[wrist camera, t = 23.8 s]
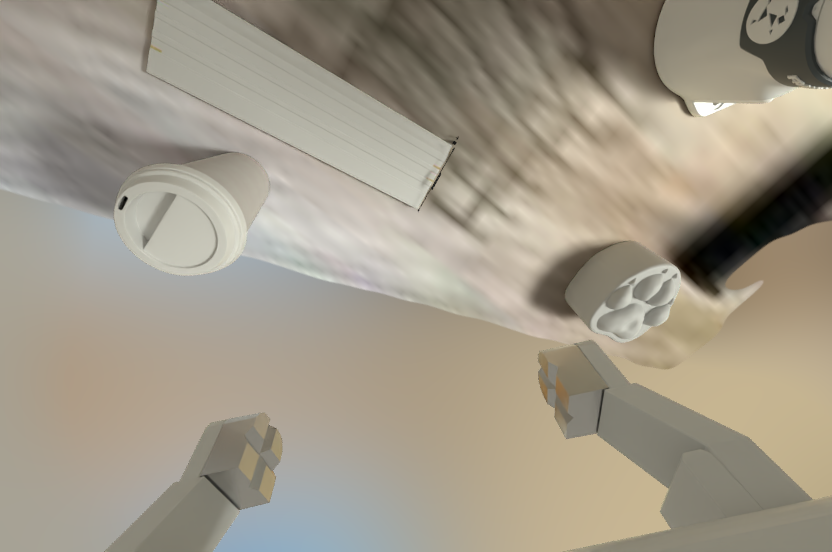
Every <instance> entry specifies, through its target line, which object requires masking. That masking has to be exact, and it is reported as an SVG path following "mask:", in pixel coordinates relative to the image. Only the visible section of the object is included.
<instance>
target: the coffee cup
mask: <svg viewBox="0 0 832 552" xmlns="http://www.w3.org/2000/svg"><path fill="white" fill-rule="evenodd" d="M269 190H270V183H269V179H268V176H267V174H266V172H265V170H264V169H263V167H262V166H261V165H260V164H259V163H258V162H257V161H256V160H254V159H253V158H251V157H249V156H247V155H245V154H242V153H236V152H230V153H225V154H221V155H217V156H213V157H209V158H205V159H201V160H197V161H193V162H189V163H185V164H181V165H178V164H169V163H160V164H153V165H148V166H145V167H143V168H140V169H138V170H137V171H135V172H134V173H132V174H131V175H130V176H129V177H128V178H127V180H126V181H125V182H124V183H123V185H122V186H121V188H120V190H119V192H118V195H117V198H116V204H115V208H114V221H115V226H116V229H117V232H118V234H119V236H120V238H121V239H122V241H123V242H124V244H125V245H126V246H127V247H128V248H129V249H130V251H131V252H132V253H133V254H134V255H136V256H137V257H138V258H139V259H141V260H142V261H143V262H145V263H147V264H148V265H150V266H152V267H154V268H156V269H158V270H161V271H163V272H167V273H171V274H175V275H183V276H192V275H199V274H207V273H211V272H215V271H218V270H220V269H223V268H224V267H227V266H228V265H230V264H232V263H233V262H234V261H235V260H236V259H237V258H238V257H239V256H240V255H241V253H242V251H243V249H244V247H245V244H246V240H247V231H248V229H249V228H250V226H251V224H252V222H253V221H254V219H255V217H256V216H257V214H258V212H259V210H260V209H261V207H262V205H263V204H264V202H265V200H266V198H267V197H268V194H269Z"/></svg>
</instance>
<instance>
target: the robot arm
mask: <svg viewBox="0 0 832 552" xmlns="http://www.w3.org/2000/svg"><path fill="white" fill-rule="evenodd" d="M654 58H655V64H656V68H657V72H658V74H659V76H660V78H661V80H662V82H663V83H664V84H665V85H666V87H667V88H668V89H670V90H671V91H672V92H674V93H676V94H677V95H679V96H680V97H682V98H683V99H684V101H685V103H686V105H687V108H688V110H689V112H690V113H691V114H692V115H693V116H695V117H704V116H708V115H710V114H712V113H715V112H717V111H720V110H722V109H724V108H727V107H729V106H731V105H734V104H736V103H755V104H760V103H768V102H771V101H772V100H773V99H774V98H776V97H779V96H782V95H785V94H787V93H789V92H791V91H793V90H795V89H797V88H799V87H803V88H809V89H828V88H832V0H666V1H665V3H664V5H663V8H662V10H661V13H660V16H659V20H658V23H657V28H656V33H655V40H654ZM538 362H539V364H540V365H541V369H540V370H539V371H538V380H539V384H540V388H541V391H542V393H543V396H544V398H545V400H546V402H547V404H549V405H550V406H552V407H553V408H555V419H556V421H557V423H558V425H559V427H560V428H561V430H562V432H563V434H564V436H565V438H566V439H569V438H575V437H580V436H586V435H591V434H596V433H598V434H597V435H598V436H600V437H601V438H602V439H603V440H605V441H606V442H607V443H609V444H610V445H611V446H613V447H614V448H615V449H617V450H618V451H619V452H621V453H622V454H623V455H624V456H626V457H627V458H628V459H630V460H631V461H632V462H634V463H635V464H636V465H638V466H639V467H640V468H642V469H643V470H644V471H646V472H647V473H648V474H650V475H651V476H653V477H654V478H655V479H657V480H658V481H659V482H660V483H662V484H663V485H664V486H666V487H667V488H668V491H667V494H666V496H665V499H664V501H663V504H662V507H661V510H660V512H661V514H662V516H663V517H664V519H665V520H666V522H667V523H668V525H669V526H670V528H671V529H670V530H665V531H660V532H655V533H650V534H646V535H641V536H636V537H631V538H626V539H622V540H617V541H612V542H607V543H602V544H598V545H593V546H588V547H583V548H579V549H574V550H569V551H564V552H832V496H828V497H823V498H818V499H812V498H811V497H810V496H809V495H808V494H807V493H805V491H803V490H802V489H801V488H800V487H799V486H798V485H797V484H796V483H795V482H794V481H793V480H792V479H791V478H790V477H789V476H788V475H787V474H786V473H785V472H784V471H783V470H782V469H781V468H780V467H779V466H778V465H777V464H776V463H774V461H772V460H771V459H770V458H769V457H768V456H767V455H766V454H765V453H764V452H763V451H762V450H761V449H760V448H759V447H758V446H757V445H756V444H755V443H754V442H753V441H752V440H751V439H750V438H748V437H747V436H745V435H742V434H740V433H738V432H736V431H734V430H732V429H730V428H728V427H726V426H724V425H722V424H720V423H718V422H716V421H714V420H712V419H709V418H707V417H705V416H703V415H701V414H699V413H697V412H695V411H693V410H691V409H689V408H687V407H685V406H683V405H680V404H679V403H677V402H674V401H672V400H670V399H668V398H666V397H664V396H662V395H660V394H658V393H656V392H654V391H652V390H650V389H648V388H646V387H643V386H641V385H639V384H637V383H633V384H630V383H629V381H628V380H627V379H626V378H625V377H624V375H623V374H622V373H621V372H620V371H619V370H618V368H617V367H616V366H615V365H614V364H613V362H612V361H611V360H610V359H609V358H608V356H607V355H606V354H605V353H604V352H603V350H602V349H601V348H600V347H599V346H598V345H597V343H596V342H594V341H593V340H589V341H584V342H580V343H575V344H570V345H565V346H561V347H557V348H552V349H549V350H544V351H540V352H539V354H538ZM269 422H270V418H269V417H268V416H267V415H266V414H265V413H258V414H252V415H247V416H242V417H237V418H232V419H227V420H222V421H217V422H212V423H210V424H209V425H208V426H207V427H206V429H205V431H204V433H203V435H202V437H201V439H200V441H199V443H198V445H197V447H196V449H195V451H194V453H193V455H192V457H191V459H190V461H189V463H188V465H187V467H186V469H185V471H184V473H183V475H182V477H181V479H180V481H179V482H175V483H173V484H172V485H171V486H170V487H169V488H168V489H167V490H166V491H165V492H164V493H163V494H162V495H161V496H160V497H159V498H158V499H157V500H156V501H155V502H154V503H153V504H152V505H151V506H150V507H149V508H148V509H147V510H146V511H145V512H144V513H143V514H142V515H141V516H140V517H139V518H138V519H137V520H136V521H135V522H134V523H133V524H132V525H131V526H130V527H129V528H128V529H127V530H126V531H125V532H124V533H123V534H122V535H121V536H120V537H119V538H118V539H117V540H116V541H115V542H114V543H112V545H110V547H108V549H106V550H105V551H104V552H213V550H214V549H215V547H216V546H217V545H218V543H219V542H220V540H221V538H222V537H223V536H224V534H225V533H226V532H227V530H228V528H229V527H230V526H231V524H232V523H233V521H234V520H235V518H236V517H237V515H238V514H239V512H240V511H239V510H241V509H245V508H249V507H253V506H258V505H262V504H266V503H269V502H270V499H271V495H272V491H273V487H274V484H275V479H276V476H275V474H274V472H273V470H274V468H275V467H276V466H277V465H278V463H279V462H280V460H281V455H282V438H281V435H280V433H279V431H278V430H277V428H274V427H272V426H270V425H269Z"/></svg>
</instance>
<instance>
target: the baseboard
mask: <svg viewBox="0 0 832 552" xmlns="http://www.w3.org/2000/svg"><path fill="white" fill-rule="evenodd" d="M154 16H155V19H154V26H153V30H152V39H151V46H150V49H149V56H148V63H147V69H146V72H147V73H149V74H151V75H153V76H155V77H157V78H159V79H161V80H163V81H165V82H167V83H169V84H171V85H173V86H175V87H177V88H179V89H181V90H183V91H185V92H187V93H189V94H191V95H193V96H195V97H197V98H199V99H201V100H203V101H205V102H206V103H208V104H210V105H212V106H214V107H216V108H218V109H220V110H222V111H224V112H226V113H228V114H230V115H232V116H234V117H236V118H238V119H240V120H242V121H244V122H246V123H248V124H250V125H252V126H254V127H256V128H258V129H260V130H262V131H264V132H266V133H268V134H270V135H272V136H274V137H276V138H277V139H279V140H281V141H283V142H285V143H287V144H289V145H291V146H293V147H295V148H297V149H299V150H301V151H303V152H305V153H307V154H309V155H311V156H313V157H315V158H317V159H319V160H321V161H323V162H325V163H327V164H329V165H331V166H333V167H335V168H337V169H339V170H341V171H343V172H345V173H346V174H348V175H350V176H352V177H354V178H356V179H358V180H360V181H362V182H364V183H366V184H368V185H370V186H372V187H374V188H376V189H378V190H380V191H382V192H384V193H386V194H388V195H390V196H392V197H394V198H396V199H398V200H400V201H402V202H404V203H406V204H408V205H410V206H412V207H414V208H416V209H418V207H419V205H420V204H421V202H422V200H423V198H424V197H425V195H426V193H427V191H428V189H429V187H430V186H431V184H432V182H433V180H434V179H435V177H436V175H437V174H438V172H439V170H440V168H441V166H442V165H443V163H444V162H445V160H446V158H447V156H448V153H449V151H450V149H451V147H452V145H451V144H449V143H447V142H446V141H444V140H442V139H441V138H439V137H437V136H436V135H434V134H432V133H431V132H429V131H427V130H426V129H424V128H422V127H421V126H419V125H417V124H416V123H414V122H412V121H411V120H409V119H407V118H406V117H404V116H402V115H401V114H399V113H397V112H396V111H394V110H392V109H391V108H389V107H387V106H386V105H384V104H382V103H381V102H379V101H378V100H376V99H374V98H373V97H371V96H369V95H368V94H366V93H364V92H363V91H361V90H359V89H358V88H356V87H354V86H353V85H351V84H349V83H348V82H346V81H344V80H343V79H341V78H339V77H338V76H336V75H334V74H333V73H331V72H329V71H328V70H326V69H324V68H323V67H321V66H319V65H318V64H316V63H314V62H313V61H311V60H309V59H308V58H306V57H305V56H303V55H301V54H300V53H298V52H296V51H295V50H293V49H291V48H290V47H288V46H286V45H285V44H283V43H281V42H280V41H278V40H276V39H275V38H273V37H271V36H270V35H268V34H266V33H265V32H263V31H261V30H260V29H258V28H256V27H255V26H253V25H251V24H250V23H248V22H246V21H245V20H243V19H241V18H240V17H238V16H236V15H235V14H233V13H232V12H230V11H228V10H227V9H225V8H223V7H222V6H220V5H218V4H217V3H215V2H213V1H212V0H157V5H156V10H155V15H154ZM458 137H459V136H458ZM456 138H457V137H456ZM457 139H458V138H457ZM452 144H454V145H455V144H456V142H455V141H454V142H453V143H452ZM453 151H454V149H453ZM453 151H452V152H453ZM452 152H451V153H452ZM450 155H451V154H450ZM449 157H450V156H449ZM448 159H449V158H448ZM448 159H447V160H448ZM446 162H447V161H446ZM445 164H446V163H445ZM444 166H445V165H444ZM444 166H443V167H444ZM442 169H443V168H442ZM441 171H442V170H441ZM439 174H440V175H441V172H440V173H439ZM440 175H438V177H440ZM438 177H437V178H438ZM438 179H439V178H438ZM438 179H436V180H435V181H436V182H434V184H433V186H432V187H431V189H432V190H433V187H434V186H435V184H436V183H437V181H438ZM431 189H430V190H431ZM429 192H430V191H429ZM427 195H428V194H427ZM426 197H427V196H426ZM425 199H426V198H425ZM423 202H424V201H423ZM422 204H423V203H422ZM421 206H422V205H421ZM419 209H420V208H419ZM419 209H418V211H419Z"/></svg>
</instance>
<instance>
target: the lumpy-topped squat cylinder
mask: <svg viewBox="0 0 832 552" xmlns="http://www.w3.org/2000/svg"><path fill="white" fill-rule="evenodd" d="M680 283H681V277H680V272H679V270H678V268H677V267H676V266H674V265H673V264H671V263H670V262H668V261H667V260H665V259H663V258H662V257H660V256H659V255H657V254H656V253H654V252H653V251H651V250H649V249H648V248H646V247H645V246H643V245H642V244H640V243H638V242H635V241H625V242H620V243H617V244H614V245H612V246H609V247H607V248H606V249H604V250H602V251H600V252H598V253H597V254H595V255H594V256H592V257H591V258H590V259H589V260H588V261H587V262H586V263H585V265H584V266H583V267H582V268H581V269H580V270H579V271H578V273H577V274H576V275H575V277H574V278H573V279H572V281H571V282H570V284H569V285H568V287H567V289H566V291H565V300H566V302H567V303H568V304H569V305H570V307H571V308H572V309H573V310H574V311H575V312H576V314H577V315H578V316H579V317H580V318H581V320H582V321H583V322H584V323H585V324H586V325H587V326H588V328H589V329H590V330H591V331H593V332H595V333H597V334H603V335H606V336H608V337H610V338H611V339H612V340H614V341H616V342H620V343H624V342H628V341H631V340H633V339H636V338H637V337H639V336H641V335H642V334H643V333H645V332H646V331H647V330H648V329H649V328H650V327H652V326H659V325H661V324H662V323H664V322H665V321H666V320H667V318H668V316H669V313H670V307H671V306H672V304H673V303H674V300H675V298H676V296H677V293H678V291H679V288H680Z"/></svg>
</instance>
